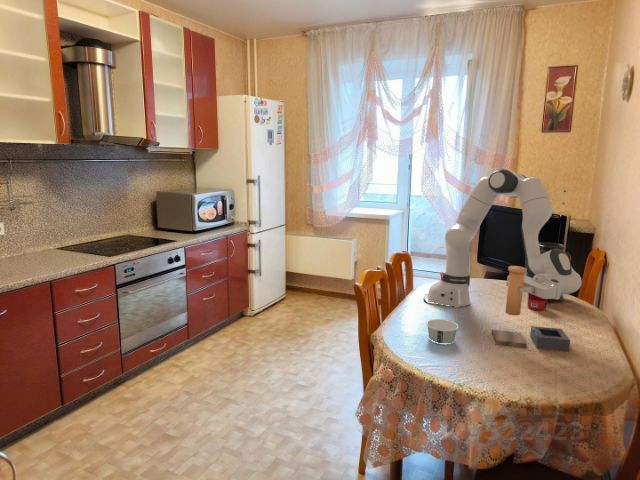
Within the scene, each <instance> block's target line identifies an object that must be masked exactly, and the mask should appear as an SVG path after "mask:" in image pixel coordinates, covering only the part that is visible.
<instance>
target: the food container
mask: <svg viewBox="0 0 640 480" xmlns="http://www.w3.org/2000/svg"><path fill="white" fill-rule="evenodd" d="M426 326H427V330H428V332H427V333H428V339H429V338H430V339H431V340H433V341H435V342H438V343H452V342H453V341H454V342H455V339H456V334H457V330H459V325H458V324H457V323H456V322H454V321H451V320H448V319H445V318H444V319H443V318H434V319H430V320H428V321H426ZM454 342H453V343H454Z"/></svg>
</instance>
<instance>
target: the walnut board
mask: <svg viewBox="0 0 640 480" xmlns="http://www.w3.org/2000/svg"><path fill="white" fill-rule="evenodd" d="M491 336H492V339H493V342H494V344H495V345H501V346H511V347H521V348H527V345H528V344H527V341H526V339H525V338H524V337H525V336H524V335H523V334H522V332H520V331H511V330H509V331H508V330H500V329H499V330H498V329H491Z"/></svg>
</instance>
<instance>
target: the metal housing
mask: <svg viewBox="0 0 640 480" xmlns="http://www.w3.org/2000/svg"><path fill="white" fill-rule="evenodd" d="M529 333H530V334H529V338H530V339H531V341H532V344H533V345H534V346H535V348H536V349H540V350H549V351H559V352H560V351H561V352H570V346H571V339H570V338H569V336H568V335H567V334H566V333H565V331H564V330H563V329H562V328H555V327H544V326H543V327H542V326H530V332H529Z"/></svg>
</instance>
